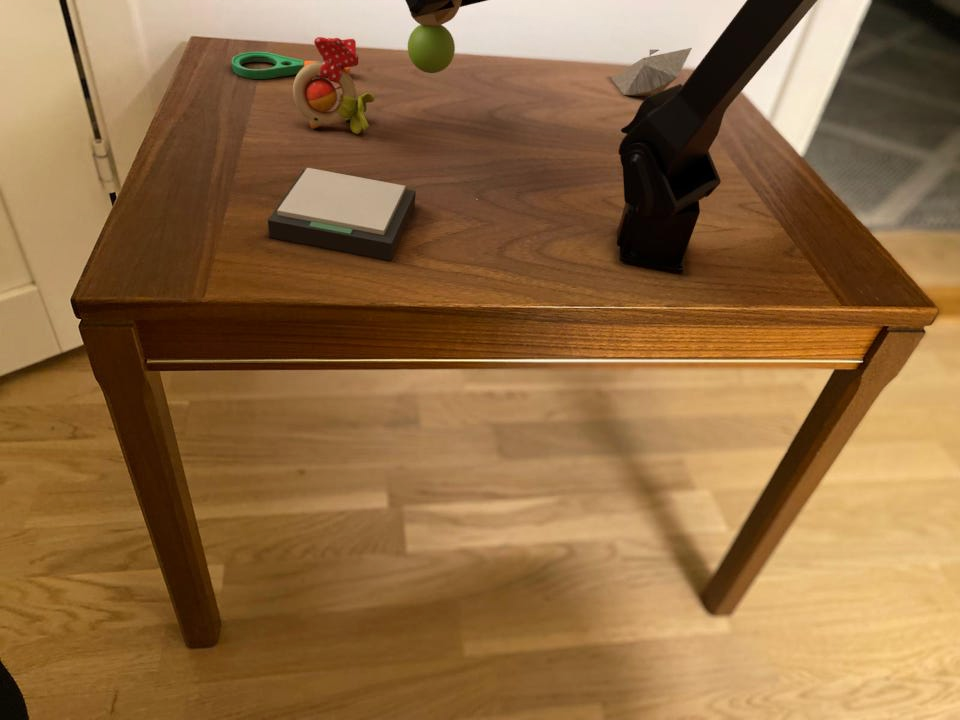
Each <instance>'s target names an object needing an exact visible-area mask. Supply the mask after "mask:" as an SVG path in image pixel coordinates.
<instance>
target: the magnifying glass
mask: <svg viewBox="0 0 960 720" xmlns="http://www.w3.org/2000/svg"><path fill="white" fill-rule="evenodd" d="M315 61H316V60H303V59H298V58H295V57H290V56H286V55H281V54H277V53H273V52H267V51H248V52H242V53H239V54H236V55H234V56H233V57H232V58H231V67H232V71H233V72H234V74H236V75H238V76H240V77H243V78H246V79H253V80H267V79H274V78H281V77H287V76H293V75H297V74H298V73H299V71H300V70H301V69H302V68H303V67H305V66H306V65H307V64H309V63H312V62H315ZM250 62H266V63H267V62H268V63H271V64H274V66H272V67H269V68H261V69H256V68H255V69H253V68H247V67H245V66H242V65H244V64H246V63H250ZM344 69H345V70H346V71H347V72H348V74H349V75H350V74H351V67H346V68H344ZM350 76H351V75H350Z"/></svg>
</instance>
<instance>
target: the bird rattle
mask: <svg viewBox="0 0 960 720" xmlns="http://www.w3.org/2000/svg"><path fill="white" fill-rule="evenodd" d="M313 43H314V45H315V47H316V49H317V51H318V53H319V55H320V57H321V58H322V60H314V61H315V62H312V63H309V64H307V65H306V66H305V67H303V68H302V69H301V70H300V71H299V73H298V74H296V76H295V77H294V81H293V84H292V98H293V101H294V103H295V105H296V108H297V109H298V111H299V112H300V114H301V115H302V116H303V117H304V118H305V119H306V120H308V122H309V125H310V128H312V129H317V128H318V127H320V126H333V125H337V124H339V123H341V122H343V121H344V122H347V121H349V122H350V123H349V126H350V127H349V128H350V130H351V133H353V134H356V135H359V134H360V133H361V132H362V130H363V131H365V130H367V129H368V128H369V127H370V125H369V123H368V121H367V118H366V116H365V113H366V112H367V107H368V106H367V104H368V103H373V102H374V101H375V96H374V94H372V93H370V92H365V93H363V94H361V95H359V96H357V87H356V85H355V83H354V80H353V78H352V77H351V75H349V74H348V72H347V71H346V70H345V69H344V68H346V67H350V68H353V67H356V66H358V65H359V59H360V58H359V54H357V48H356V46H357V42H356V40H355V39H354V38H346V39H341V38H340V37H332V38H331V37H327V38H326V37H322V36H317V37H316V38H314V40H313ZM333 83H335V84H338V85H339V86H337V87H335V86H334V84H333ZM337 90H341V91H342V93H341V94H340V99H339V100H338V93H337ZM337 100H338V104H337V106H336V108H335V109H333V110H332V108H334V107H335V105H336V103H337Z"/></svg>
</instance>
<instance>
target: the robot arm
mask: <svg viewBox="0 0 960 720" xmlns="http://www.w3.org/2000/svg"><path fill="white" fill-rule="evenodd" d="M404 1H405V2H406V5H407V8H408V11H409V13H410V16H411V15H412V16H411V18H412V17H413V18H415V17H419V16H423V15H427V14H431V13H435V12H439V11H443V10H447V9H451V8H454V4H453V2H452V0H404ZM487 1H489V0H462V2H461V5H460V8H463V7H467V6H471V5H474V4H478V3H484V2H487ZM817 2H818V0H745V2H744V4H743V5H742V6H741V7H740V9H739V10H738V11H737V13H736V14H735V15H734V17H733V18H732V19H731V21H730V22H729V23H728V24H727V26H726V27H725V28H724V30H723V31H722V33H721V34H720V35H719V37H717V39H716V41H715V42H714V43H713V44H712V46H711V47H710V49H709V50H708V51H707V53H706V54H705V56H704V57H703V58H702V60H701V61H700V62H699V63H698V64H697V66H696V67H695V68H694V70H693V71H692V73H691V74H690V75H689V77H688V78H687V79H686V81H685V82H684V83H683V84H682V83H679V84H676V85H673V86H670V87H669V88H665V89H664V90H663V91H661V92H659V93H656V94H654V95H651V96H645V98H644V100H643V101H642V102H641V104H640V105H639V107H638V108H637V111H636V113H635V115H634V117H633V118H632V120H631V121H630V122H629V123H628V124H627V125H625V126H624V127H622V128H621V129H620V132H621V133H623V134H625V135H624V137H623V138H622V139H621V142H620V144H619V147H618V155H619V158H620V164H621V166H622V178H623V179H622V180H623V182H622V183H623V198H624V199H623V200H624V206H623V210H622V214H621V217H620V221H619V224H618V226H617V227H618V228H617V231H616V246H617V247H618V248H619V261H620V262H621V263H624V264H630V265H635V266H639V267H646V268H651V269H656V270H660V271H661V270H662V271H666V272H672V273H677V274H682V273H683V272H684V270H685V254H686V251H687V249H688V247H689V244H690V241H691V238H692V236H693V233H694V231H695V226H696V225H697V223H698V219H699V216H700V213H701V209H700V200H702V199H704V198H707V197H709V196H710V195H712V193H713V192H714V191H715V190H716V189H717V188H718V186H719V185H721V182H722V181H721V177H720V175H719V172H718V170H717V168H716V165H715V163H714V161H713V158H712V155H711V154H710V151H709V150H710V148H711V147H712V145H713V143H714V141H715V139H716V138H717V136H718V135H719V132H720V129H721V125H722V122H723V118H724V115H725V113H726V111H727V109H728V108H729V107H730V106H731V104H732V103H733V102H734V100H736V98H737V97H738V96H739V94H741V92H742V91H743V90H744V89H745V88H746V86H747V85H748V84H749V83H750V82H751V80H752V79H753V78H754V77H755V76H756V74H758V72H759V71H760V70H761V68H762V67H763V66H764V65H765V64H766V63H767V61H768V60H769V59H770V58H771V57H772V56H773V54H774V53H775V52H776V50H777V49H779V47H780V46H781V45H782V44H783V42H784V41H785V40H786V39H787V38H788V36H789V35H791V33H792V31H793V30H794V29H795V28H796V27H797V25H798V24H799V23H800V22H801V21H802V20H803V18H804V17H805V16H806V15H807V14H808V13H809V11H811V9H812V7H813V6H814V5H815V4H816V3H817ZM413 18H412V19H413Z"/></svg>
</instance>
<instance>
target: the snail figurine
mask: <svg viewBox="0 0 960 720" xmlns="http://www.w3.org/2000/svg"><path fill="white" fill-rule="evenodd" d="M452 2H453V4H454V8H451V9H447V10H443V11H439V12H435V13H431V14H427V15H423V16H419V17H415V18H413V17H412V15H411V14H410V16H411V18H412V20H414V21H415V22H416V23H417V24H419V25H417V26H416V27H415V28H414V29H412V30H413V31H411V33H410V35H409V38H408V41H407V54H408V58H409V59H410V61H411V63H412V64H413V65H414V66H415V68H417V69H418V70H419V71H422V72H424V73H426V74H427V73H428V74H437V73H440V72H442V71H444V70H446V69H447V68H448V67H449V66H450V65H451V63H452V61H453V59H454V56H455V51H456V47H455V46H456V45H455V40H454V37H453V35H452V33H451V32H450V31H449V29H448V28H447V27H445V26H444V24H446V23H448V22H450V21H451V20H453V19H454V18H455V16H456V15H457V13H458V12H459V10H460V8H461V7H460V5H461V2H462V0H452Z"/></svg>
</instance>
